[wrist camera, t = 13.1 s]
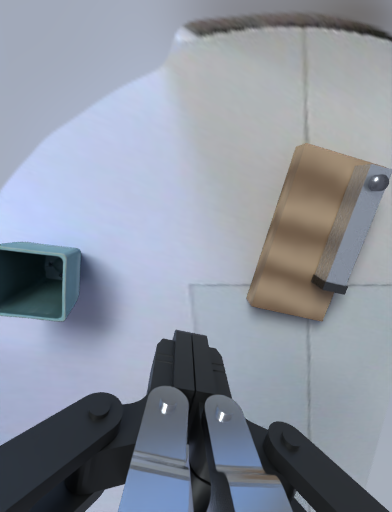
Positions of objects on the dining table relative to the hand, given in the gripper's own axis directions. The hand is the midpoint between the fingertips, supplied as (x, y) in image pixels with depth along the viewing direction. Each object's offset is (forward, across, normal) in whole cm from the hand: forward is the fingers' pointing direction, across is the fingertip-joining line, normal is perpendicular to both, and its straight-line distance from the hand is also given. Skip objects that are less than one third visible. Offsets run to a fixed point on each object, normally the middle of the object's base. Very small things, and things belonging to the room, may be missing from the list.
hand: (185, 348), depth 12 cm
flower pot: (+27, +17, +8) cm, 33 cm away
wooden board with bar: (+27, -18, -5) cm, 33 cm away
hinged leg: (+24, -22, -7) cm, 33 cm away
